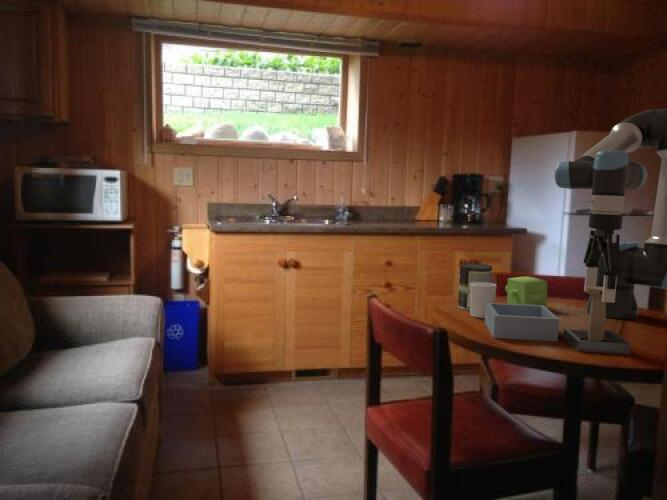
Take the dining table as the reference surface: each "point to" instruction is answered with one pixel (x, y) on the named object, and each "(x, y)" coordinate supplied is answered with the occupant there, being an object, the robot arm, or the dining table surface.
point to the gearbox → (526, 291)
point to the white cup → (481, 297)
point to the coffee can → (468, 275)
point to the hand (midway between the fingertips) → (598, 296)
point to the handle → (596, 314)
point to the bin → (521, 322)
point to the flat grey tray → (596, 342)
